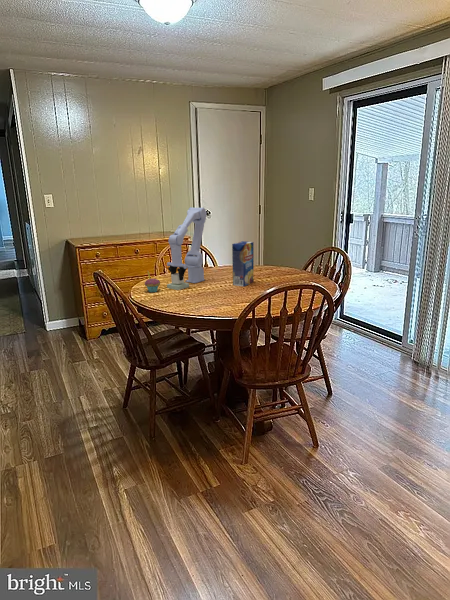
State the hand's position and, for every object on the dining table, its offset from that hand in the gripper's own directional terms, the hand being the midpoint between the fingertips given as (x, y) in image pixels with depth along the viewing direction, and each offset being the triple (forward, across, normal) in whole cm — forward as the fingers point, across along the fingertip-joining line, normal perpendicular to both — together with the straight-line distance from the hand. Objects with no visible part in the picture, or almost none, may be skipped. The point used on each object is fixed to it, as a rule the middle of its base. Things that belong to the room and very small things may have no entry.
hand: (177, 279), depth 233 cm
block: (+2, 0, 0) cm, 2 cm away
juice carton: (+5, +26, +28) cm, 39 cm away
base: (+5, 0, 0) cm, 5 cm away
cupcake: (+5, -6, -14) cm, 16 cm away
